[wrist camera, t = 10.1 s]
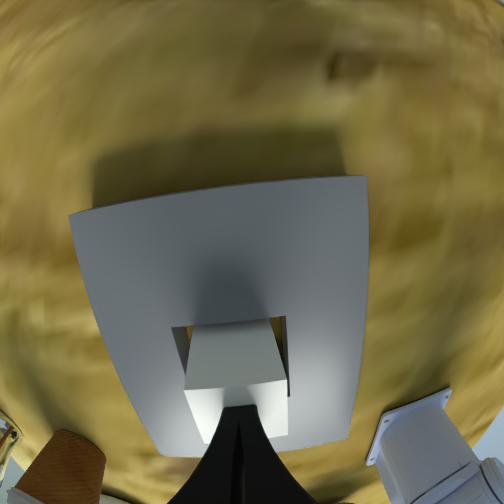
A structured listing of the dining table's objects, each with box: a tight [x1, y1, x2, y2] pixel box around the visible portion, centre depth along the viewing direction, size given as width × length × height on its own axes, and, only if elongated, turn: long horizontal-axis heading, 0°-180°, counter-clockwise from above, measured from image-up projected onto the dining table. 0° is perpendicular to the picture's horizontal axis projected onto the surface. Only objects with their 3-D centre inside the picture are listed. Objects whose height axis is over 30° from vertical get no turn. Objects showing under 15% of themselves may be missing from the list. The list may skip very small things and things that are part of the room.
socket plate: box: [69, 175, 369, 457], centre depth 15 cm, size 18×14×2 cm
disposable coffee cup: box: [7, 430, 106, 504], centre depth 14 cm, size 10×10×12 cm
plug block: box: [184, 318, 288, 444], centre depth 13 cm, size 4×4×6 cm
